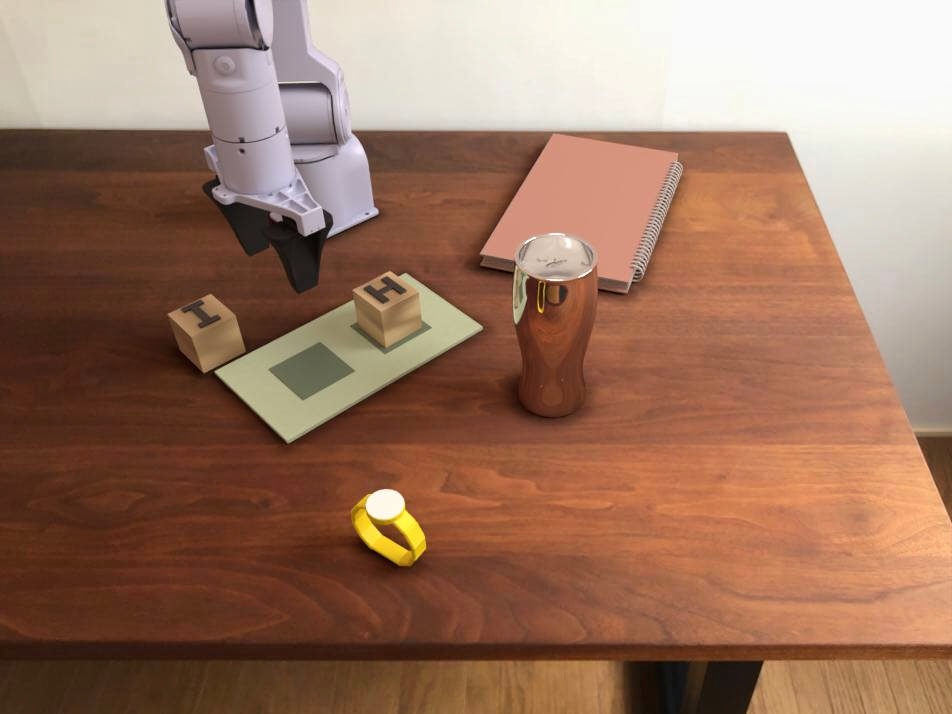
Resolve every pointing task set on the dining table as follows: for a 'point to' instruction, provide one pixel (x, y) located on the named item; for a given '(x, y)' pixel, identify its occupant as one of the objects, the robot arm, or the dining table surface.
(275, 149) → the robot arm
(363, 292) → the block
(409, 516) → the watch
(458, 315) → the word mat
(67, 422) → the dining table surface
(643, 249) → the notebook
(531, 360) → the beer glass
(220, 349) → the block
